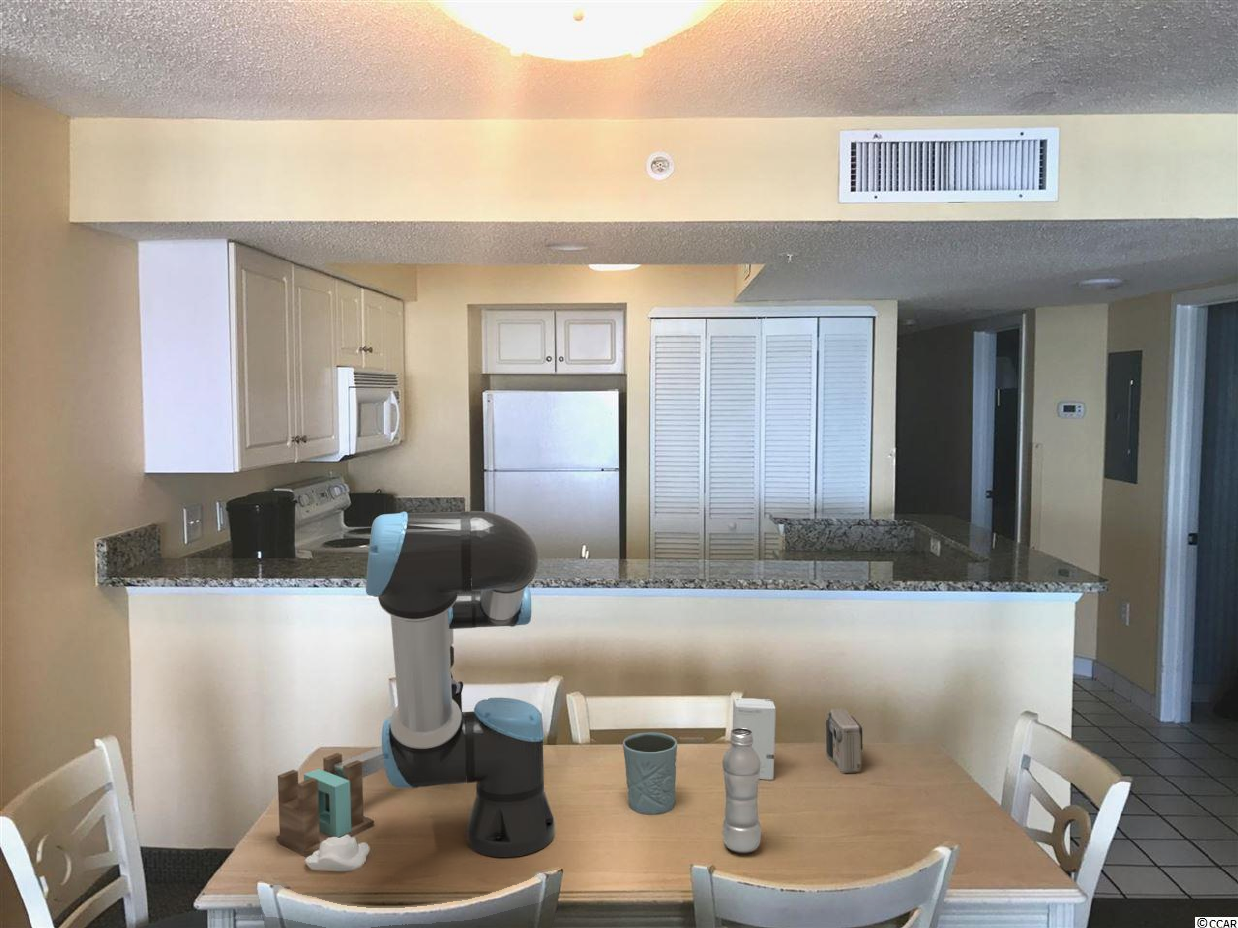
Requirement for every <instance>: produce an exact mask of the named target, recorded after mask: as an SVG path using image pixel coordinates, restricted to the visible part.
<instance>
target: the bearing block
mask: <svg viewBox="0 0 1238 928" xmlns="http://www.w3.org/2000/svg"><path fill="white" fill-rule="evenodd" d="M322 759H323V760H322V761H323V763H322V765H323V766H322V767H323V771H326V772H328V773H331V774H334V765H335V764H338V763H340V762H343V754H342V753H339V752H336V753H334V754H331V755H328V756H326V757H324V758H322ZM343 778H344V779H346V780H349V781H350V800H351V832H349V833H347V834H348V835H349V836H350V837H351V838H352V837H355V836H357V835H359V834H360V833H362V832H365V831H366V830H369V829H370V828H373V827H374V826H375V820H374V819H372V818H369V817H366V816H364V785H363V784H364V783H363V778H362V762H361V761H358V760H356V761H354V762H351V763H349V764H346V765H344V766H343ZM277 792H278V799H277V800H278V823H279V827H278V828H279V829H278V830H279V835H277V836H276V837H275V838H276V843H277V844H279V845H281V846H282V847H285V848H288V850H289V849H290V850H292V851H293V852H295V853H297V854H299V855H301V856H303V857H305V858H307V857H308V856H311V855H312V854H313V853H314V852H315V851H317V850H319V849H320V844H321V842H322V841H324V840H326V839H327V838H331V837H333V836H331V835H328V834H326V833H324V832H322V831H320V830H319V803H318V779H315V778H311V779H309V780H306V781H304V780H303V781H301V782H299V771H298V770H295V769H291V770H288V771H287V772H283V773H281V774H279V775H277ZM325 805H326V811H328V812H330V804H329V794H327V793H325ZM347 834H345V835H347ZM345 835H343V836H345ZM343 836H341V837H343ZM341 837H338V838H341Z"/></svg>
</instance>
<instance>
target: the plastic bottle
mask: <svg viewBox="0 0 1238 928" xmlns="http://www.w3.org/2000/svg"><path fill="white" fill-rule="evenodd" d="M729 739H730V740H729V743H730V744H731V745H730V746H729V748H728V749H727V750H726V752H725V754H724V755H723V758H722V770H723V771H722V772H723V778H724V786H725V787H724V788H725V810H724V820H723V825H722V832H721V833H722V838H723V842H724V844H725V845H726V847H727V849H729V850H731V851H733V852H736V853H739V854H749V853H753V852H754V851H756V850H757V849H758V847H760V845H761V840H762V830H761V824H760V819H759V818H760V817H759V808H758V806H759V805H758V792H759V783H760V782H759V781H760V779H759V775H760V767H761V763H760V759H759V756H758V755H757V753H756V751H755V750H754V749H753V747H752V746H751V745H752V744H753V733H752V731H751V730H749V729H746V728H735V729H733V728H732V729H730V738H729Z"/></svg>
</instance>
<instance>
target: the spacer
mask: <svg viewBox="0 0 1238 928" xmlns="http://www.w3.org/2000/svg"><path fill="white" fill-rule="evenodd" d="M311 778H315V779H318V803H319V830H320V831H322V832H324V833H326V834H328V835H331V836H333V837H341V836H343V835H345V834H347V833H349V832H351V800H350V781H349V780H346V779H344V778H341V777H339V776H336V775H334V774H331V773H328V772H326V771H324V769H320V768H317V769H314V770H311V771H309V772H306V773H304V774H303V781H306V780H309V779H311ZM325 793H327V794H329V804H330V812H328V811H326V805H325Z"/></svg>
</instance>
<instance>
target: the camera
mask: <svg viewBox="0 0 1238 928" xmlns="http://www.w3.org/2000/svg"><path fill="white" fill-rule="evenodd" d="M827 714H828V715H827V716H826V719H825V720H826V721H825V730H826V731H825V737H826V738H825V739H826V740H825V741H826V743H825V744H826V756H827V758H828V759H829V761H833V763H834V765H835V766H836V767H837V769H838V771H839V772H841V773H842V774H849V773H851V774H852V773H860V772H861V767H862V750H863V745H864V744H863V727H862V725H861V724H860V723H859V722H858V721H857V720H856V719H855V717H853V716H851V715H850V714H849V712H848V711H847V710H846V709H845V708H831V709H830V711H829V713H827Z"/></svg>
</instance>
